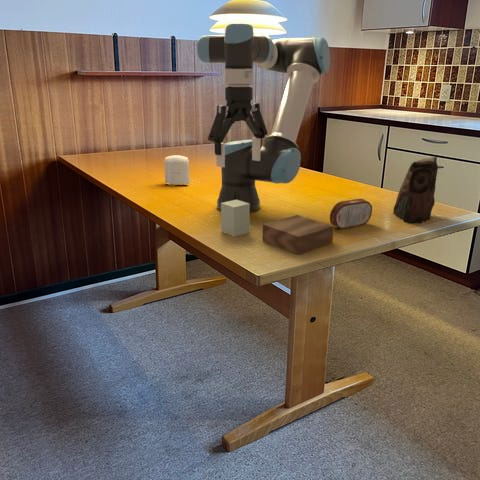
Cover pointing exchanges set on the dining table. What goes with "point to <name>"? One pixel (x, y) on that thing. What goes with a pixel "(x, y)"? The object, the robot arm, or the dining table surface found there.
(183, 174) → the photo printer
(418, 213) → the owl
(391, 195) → the dining table surface
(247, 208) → the sage block
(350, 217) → the tin
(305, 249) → the walnut board
